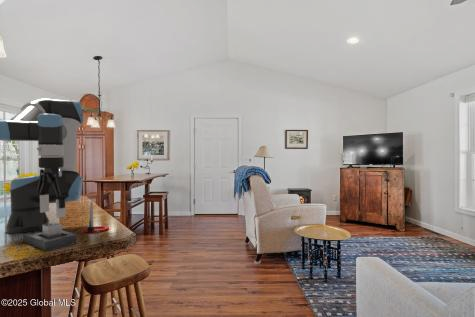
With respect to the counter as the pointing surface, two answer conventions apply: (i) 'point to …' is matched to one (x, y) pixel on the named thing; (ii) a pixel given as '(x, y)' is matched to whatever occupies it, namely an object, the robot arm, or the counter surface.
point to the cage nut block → (52, 230)
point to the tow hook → (91, 228)
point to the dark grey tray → (45, 244)
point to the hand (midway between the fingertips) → (52, 214)
